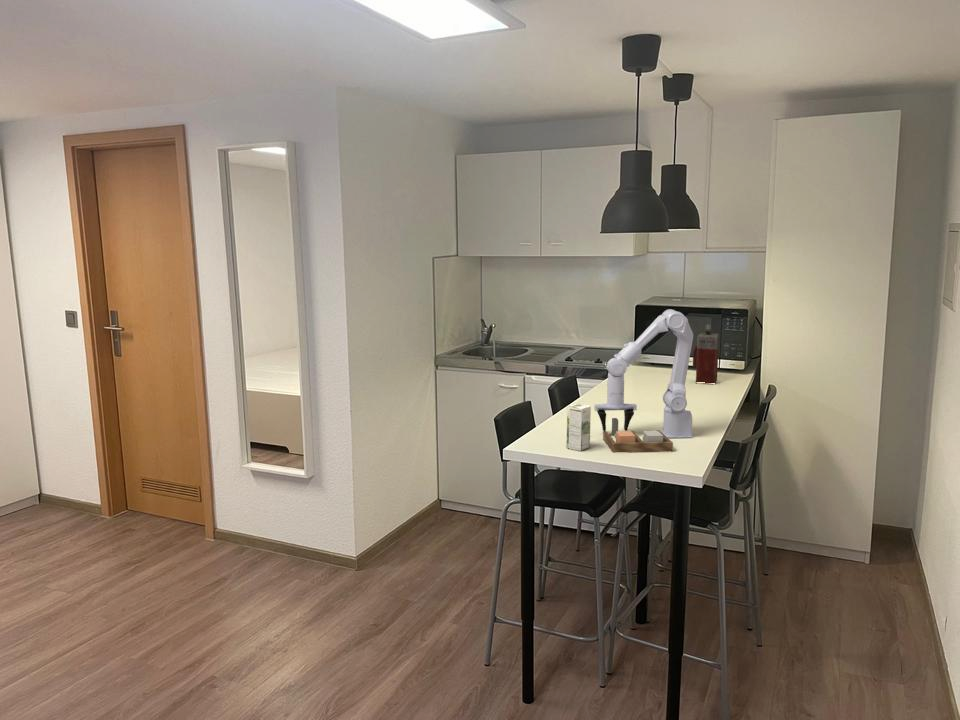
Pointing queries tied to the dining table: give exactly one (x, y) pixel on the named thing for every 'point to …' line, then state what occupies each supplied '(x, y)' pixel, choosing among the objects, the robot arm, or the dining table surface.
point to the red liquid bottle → (706, 356)
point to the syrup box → (578, 427)
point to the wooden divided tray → (638, 444)
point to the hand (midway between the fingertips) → (614, 430)
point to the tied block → (621, 433)
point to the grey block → (652, 436)
